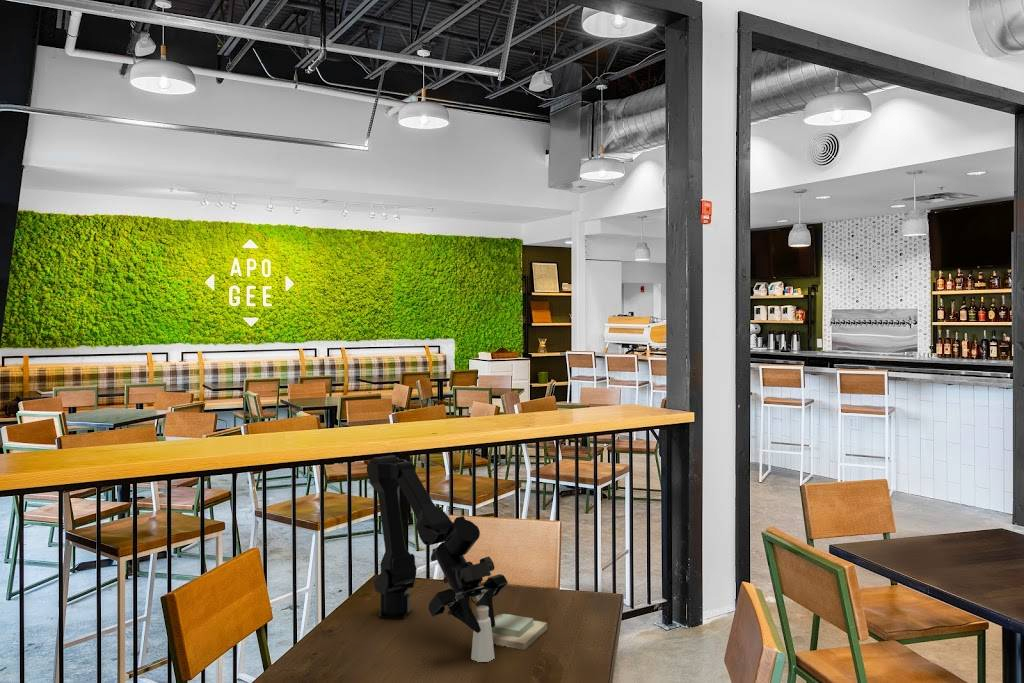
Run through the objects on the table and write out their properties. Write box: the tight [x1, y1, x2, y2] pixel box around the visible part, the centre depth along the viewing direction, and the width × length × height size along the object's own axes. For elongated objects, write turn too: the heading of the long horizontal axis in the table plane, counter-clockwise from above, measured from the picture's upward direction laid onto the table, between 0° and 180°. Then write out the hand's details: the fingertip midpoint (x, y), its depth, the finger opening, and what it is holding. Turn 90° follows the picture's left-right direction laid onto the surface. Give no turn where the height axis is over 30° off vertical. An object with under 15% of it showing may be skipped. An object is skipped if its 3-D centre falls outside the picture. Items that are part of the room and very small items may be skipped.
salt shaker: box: [470, 605, 496, 663], centre depth 162 cm, size 5×5×11 cm
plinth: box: [491, 613, 548, 651], centre depth 174 cm, size 13×13×3 cm
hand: (486, 629), depth 161 cm, fingers closed on salt shaker, 4 cm apart
